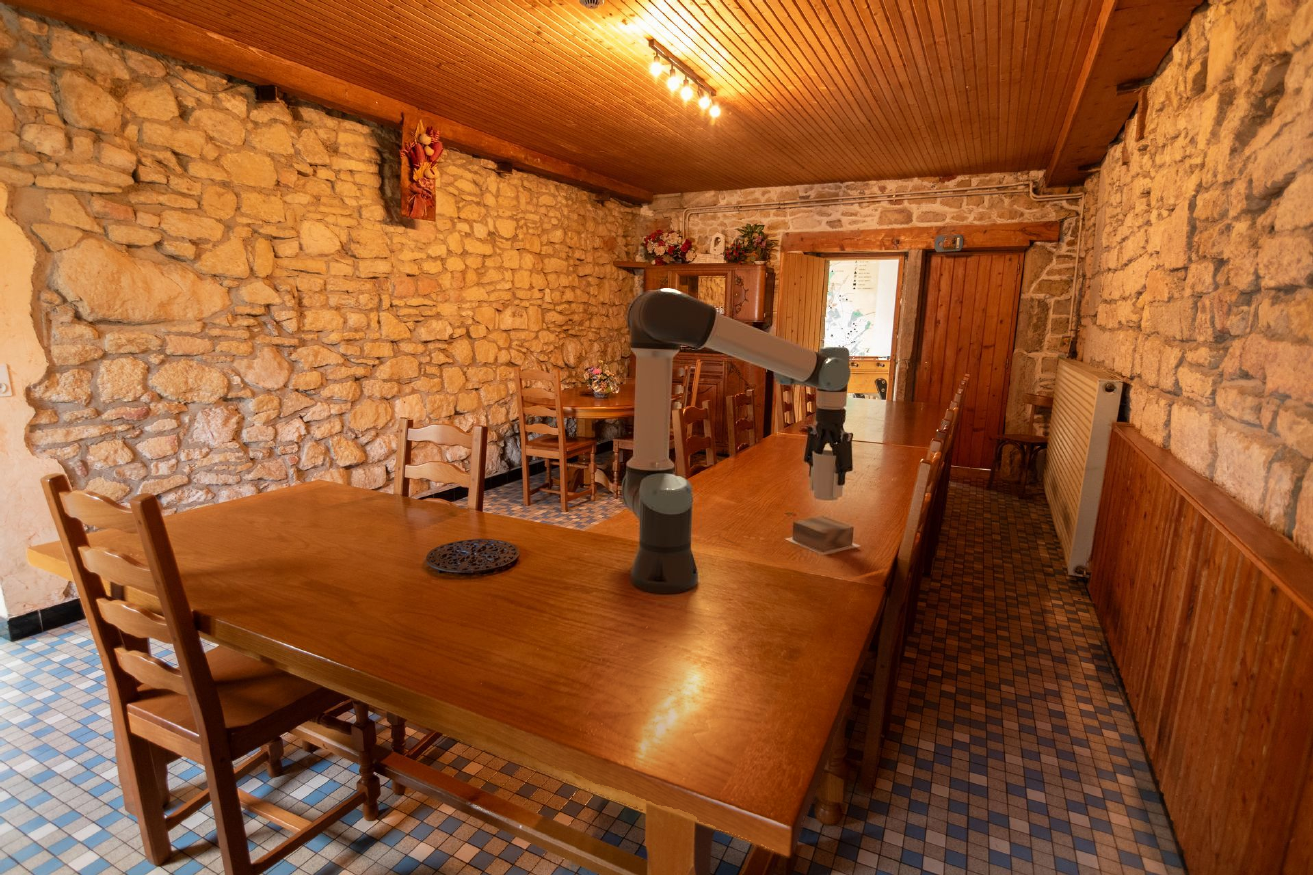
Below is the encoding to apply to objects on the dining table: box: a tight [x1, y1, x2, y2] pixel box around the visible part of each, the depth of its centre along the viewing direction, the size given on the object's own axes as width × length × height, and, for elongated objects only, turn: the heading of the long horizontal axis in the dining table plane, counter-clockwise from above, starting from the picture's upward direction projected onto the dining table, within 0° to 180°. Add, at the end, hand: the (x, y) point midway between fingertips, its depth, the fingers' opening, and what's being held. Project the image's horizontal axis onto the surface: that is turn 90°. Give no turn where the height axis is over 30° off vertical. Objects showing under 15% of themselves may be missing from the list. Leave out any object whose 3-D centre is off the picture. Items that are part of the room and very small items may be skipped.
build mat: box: [785, 536, 861, 556], centre depth 165 cm, size 14×14×1 cm
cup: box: [812, 449, 842, 501], centre depth 161 cm, size 8×8×12 cm
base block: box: [792, 515, 854, 552], centre depth 164 cm, size 11×11×5 cm
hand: (825, 493), depth 162 cm, fingers closed on cup, 7 cm apart
